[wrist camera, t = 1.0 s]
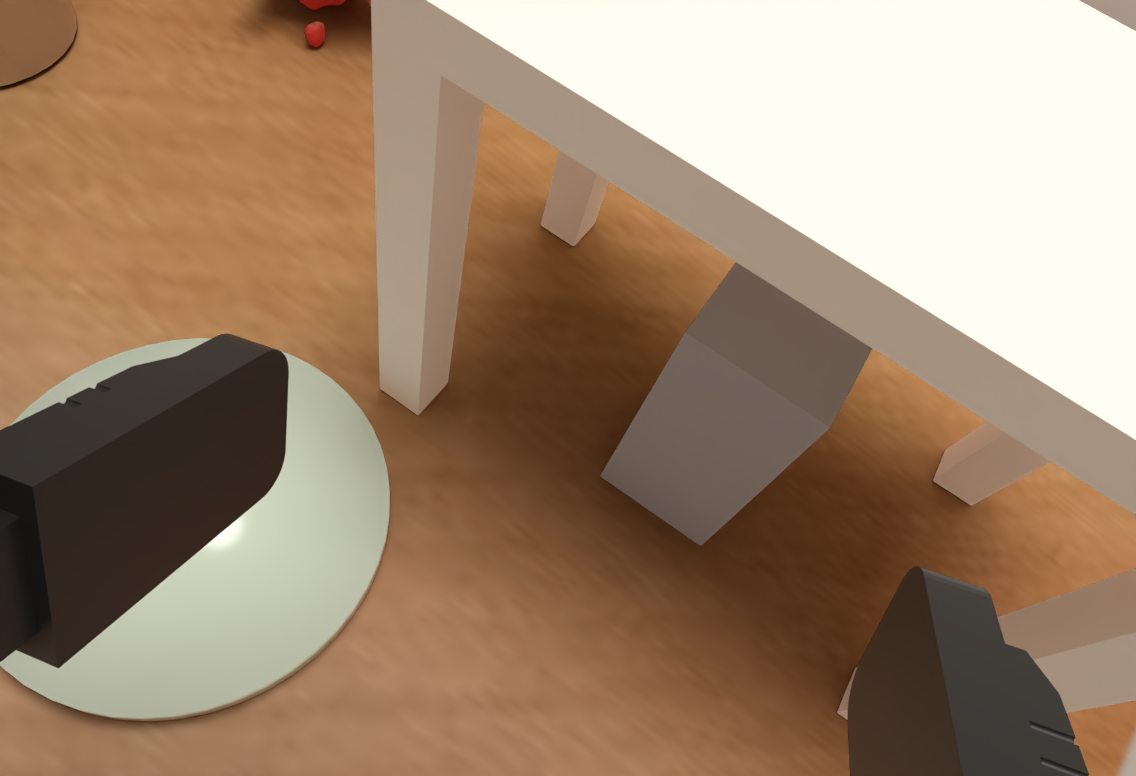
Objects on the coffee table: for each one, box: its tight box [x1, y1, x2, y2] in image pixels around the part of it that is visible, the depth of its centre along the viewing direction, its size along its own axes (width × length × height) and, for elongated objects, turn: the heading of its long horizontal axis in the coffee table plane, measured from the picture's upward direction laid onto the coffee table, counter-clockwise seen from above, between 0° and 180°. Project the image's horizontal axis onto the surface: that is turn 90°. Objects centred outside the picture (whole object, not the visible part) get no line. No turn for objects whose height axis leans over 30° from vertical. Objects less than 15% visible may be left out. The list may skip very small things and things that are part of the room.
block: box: [600, 262, 872, 546], centre depth 29 cm, size 5×5×11 cm
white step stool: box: [371, 0, 1136, 720], centre depth 27 cm, size 14×24×19 cm, turn 56°
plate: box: [0, 338, 390, 721], centre depth 28 cm, size 14×14×1 cm
